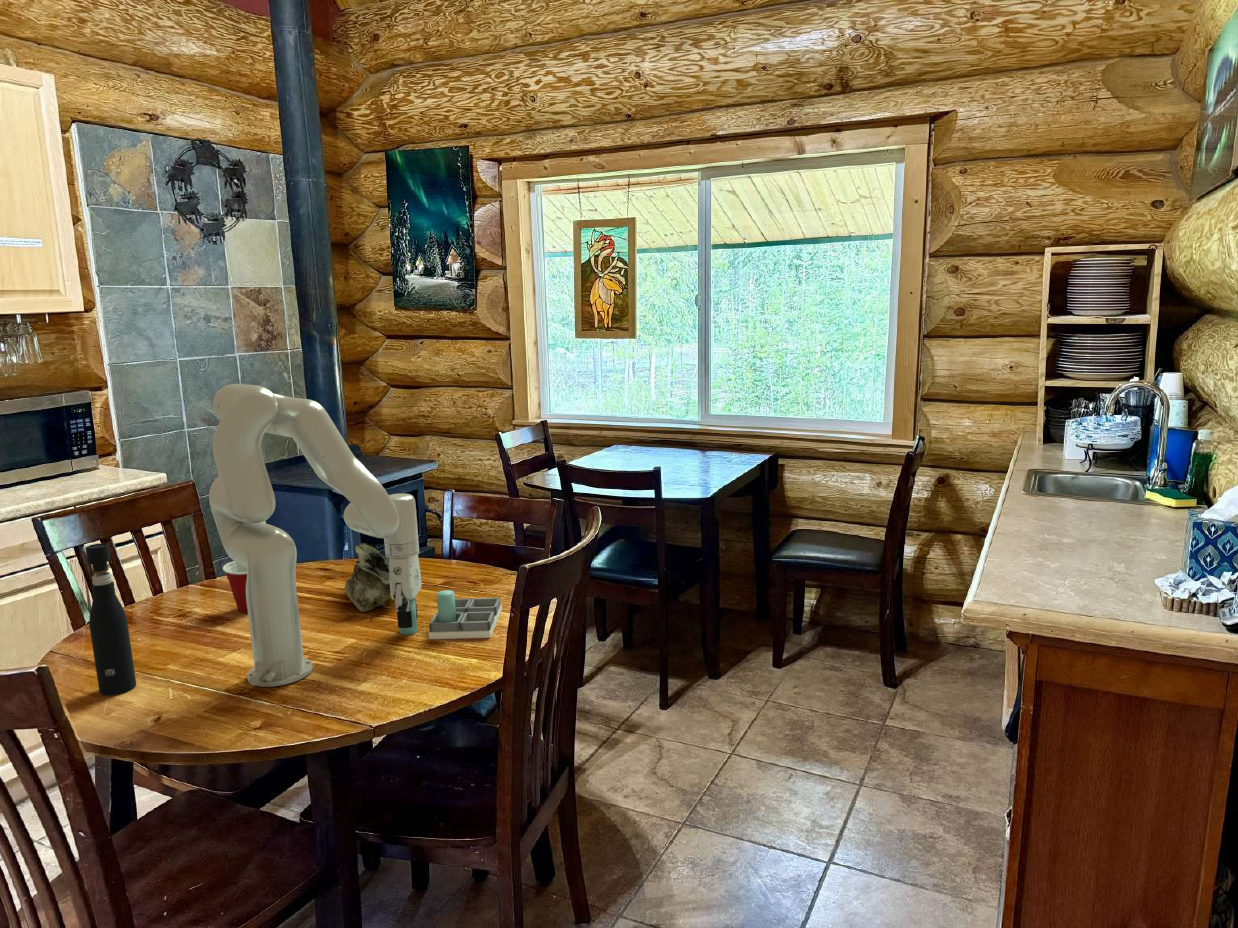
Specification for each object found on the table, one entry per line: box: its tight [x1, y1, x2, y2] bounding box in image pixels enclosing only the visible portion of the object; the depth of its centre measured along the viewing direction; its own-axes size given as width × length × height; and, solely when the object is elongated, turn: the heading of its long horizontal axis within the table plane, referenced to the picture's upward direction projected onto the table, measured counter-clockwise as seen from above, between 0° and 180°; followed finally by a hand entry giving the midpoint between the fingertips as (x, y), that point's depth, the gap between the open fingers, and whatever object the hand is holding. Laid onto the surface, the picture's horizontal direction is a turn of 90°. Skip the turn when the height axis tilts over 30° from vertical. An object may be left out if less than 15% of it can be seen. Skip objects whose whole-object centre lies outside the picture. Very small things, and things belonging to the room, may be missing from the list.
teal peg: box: [399, 596, 418, 636], centre depth 193 cm, size 4×4×8 cm
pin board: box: [428, 589, 503, 640], centre depth 196 cm, size 18×14×10 cm
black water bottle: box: [85, 542, 137, 697], centre depth 165 cm, size 6×6×30 cm
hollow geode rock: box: [344, 542, 391, 613], centre depth 218 cm, size 28×13×15 cm
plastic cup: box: [222, 560, 248, 614], centre depth 211 cm, size 11×11×12 cm
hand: (408, 622), depth 193 cm, fingers closed on teal peg, 4 cm apart
